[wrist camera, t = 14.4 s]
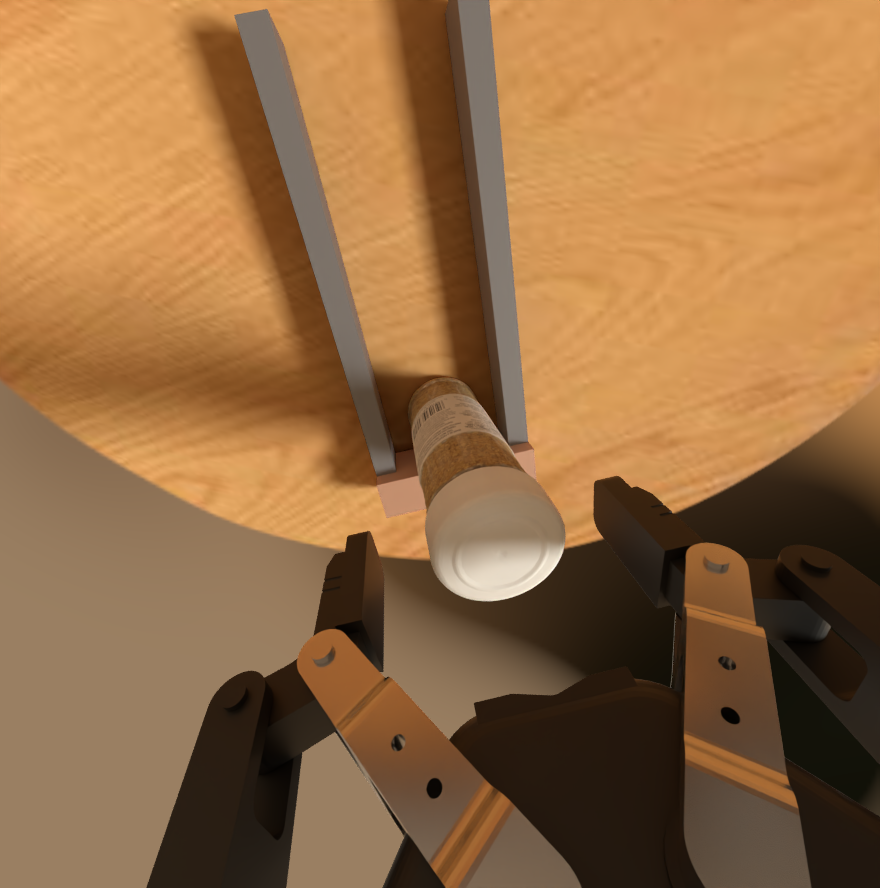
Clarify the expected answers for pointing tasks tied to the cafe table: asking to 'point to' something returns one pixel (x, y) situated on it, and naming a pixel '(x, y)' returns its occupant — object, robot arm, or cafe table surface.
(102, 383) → the cafe table surface
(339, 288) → the guide channel
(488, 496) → the sprinkles bottle
